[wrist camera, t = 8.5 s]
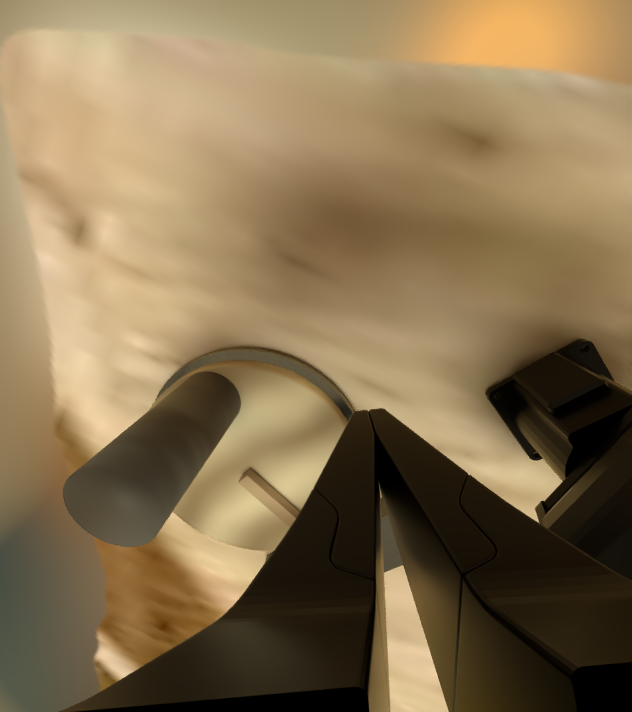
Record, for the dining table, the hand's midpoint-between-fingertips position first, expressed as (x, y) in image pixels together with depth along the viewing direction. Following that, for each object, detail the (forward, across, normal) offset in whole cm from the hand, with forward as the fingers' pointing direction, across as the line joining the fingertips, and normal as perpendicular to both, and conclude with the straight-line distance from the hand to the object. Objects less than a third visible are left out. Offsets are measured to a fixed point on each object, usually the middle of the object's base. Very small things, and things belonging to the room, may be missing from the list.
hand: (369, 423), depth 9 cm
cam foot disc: (+11, +7, +12) cm, 18 cm away
